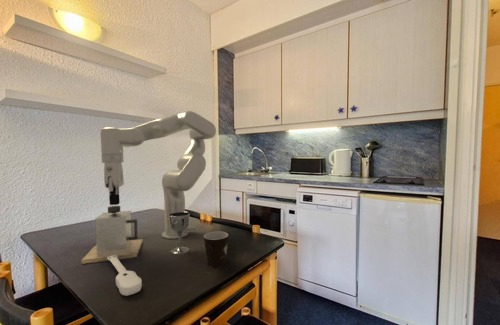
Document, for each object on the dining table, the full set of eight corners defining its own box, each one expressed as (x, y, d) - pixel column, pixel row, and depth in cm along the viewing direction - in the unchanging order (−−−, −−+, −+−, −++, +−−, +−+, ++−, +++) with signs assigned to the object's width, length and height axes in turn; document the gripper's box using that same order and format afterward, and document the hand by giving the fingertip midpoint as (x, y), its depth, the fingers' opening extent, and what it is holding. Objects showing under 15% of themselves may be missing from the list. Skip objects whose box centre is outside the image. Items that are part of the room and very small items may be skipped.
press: (142, 242, 105) (141, 208, 104) (136, 257, 89) (135, 217, 89) (96, 247, 99) (95, 211, 99) (81, 264, 84) (80, 221, 84)
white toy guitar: (102, 265, 83) (101, 257, 83) (120, 260, 87) (119, 253, 87) (123, 300, 62) (122, 290, 62) (145, 292, 66) (145, 282, 66)
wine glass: (169, 255, 90) (168, 217, 90) (170, 247, 98) (169, 212, 97) (190, 253, 92) (189, 215, 92) (190, 245, 100) (189, 210, 100)
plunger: (128, 242, 99) (127, 204, 99) (124, 249, 92) (123, 208, 91) (106, 244, 97) (105, 205, 97) (100, 252, 89) (99, 209, 89)
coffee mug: (217, 255, 89) (216, 229, 89) (233, 262, 84) (233, 234, 84) (192, 267, 80) (191, 238, 80) (208, 275, 75) (208, 244, 75)
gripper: (118, 158, 87) (120, 207, 88) (127, 158, 102) (128, 200, 102) (95, 159, 85) (98, 209, 86) (107, 158, 99) (109, 201, 100)
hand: (114, 204), depth 94 cm, fingers closed
